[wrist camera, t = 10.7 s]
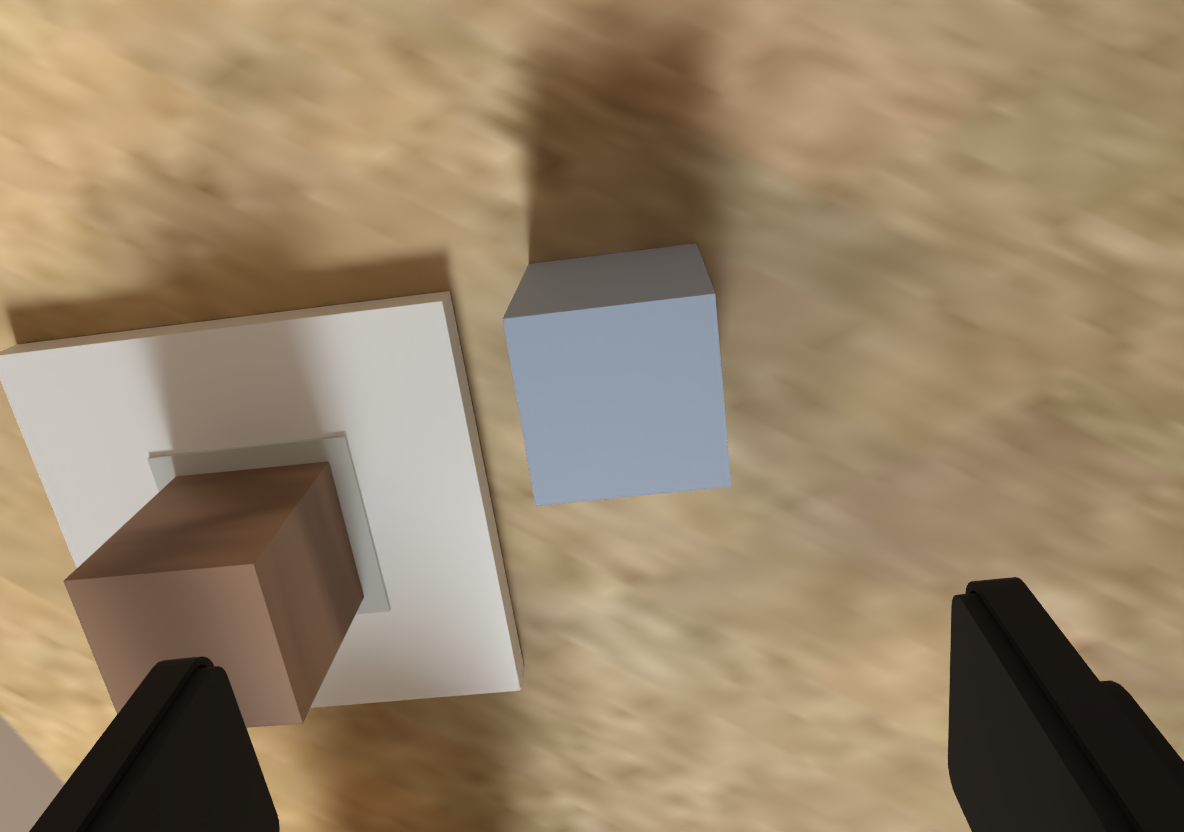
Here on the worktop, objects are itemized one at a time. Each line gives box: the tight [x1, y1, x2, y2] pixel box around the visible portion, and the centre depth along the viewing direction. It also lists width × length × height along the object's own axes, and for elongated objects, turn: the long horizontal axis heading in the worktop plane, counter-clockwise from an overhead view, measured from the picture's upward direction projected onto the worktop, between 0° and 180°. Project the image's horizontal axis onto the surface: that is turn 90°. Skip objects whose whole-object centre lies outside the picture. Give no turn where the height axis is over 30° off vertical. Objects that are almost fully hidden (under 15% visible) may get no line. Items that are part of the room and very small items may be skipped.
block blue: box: [503, 243, 731, 506], centre depth 24 cm, size 5×5×6 cm
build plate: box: [0, 291, 524, 708], centre depth 29 cm, size 14×14×1 cm
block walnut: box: [64, 461, 364, 728], centre depth 26 cm, size 5×5×6 cm
